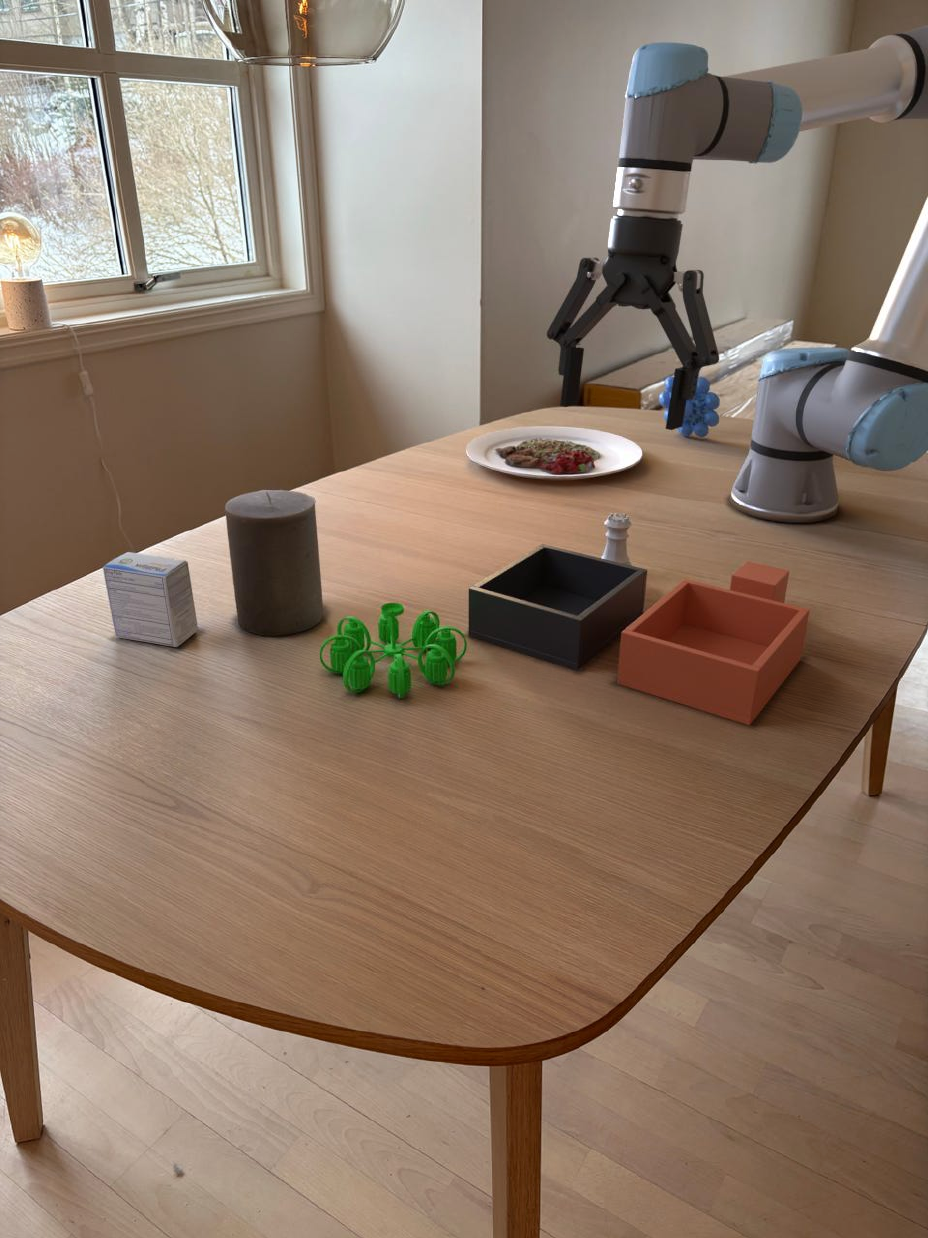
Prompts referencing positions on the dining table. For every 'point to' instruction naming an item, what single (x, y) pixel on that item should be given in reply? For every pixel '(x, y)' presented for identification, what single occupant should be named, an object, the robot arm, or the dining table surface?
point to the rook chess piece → (617, 538)
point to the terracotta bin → (713, 649)
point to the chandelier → (393, 650)
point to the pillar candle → (275, 561)
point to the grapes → (695, 408)
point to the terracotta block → (760, 581)
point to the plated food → (554, 452)
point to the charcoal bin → (557, 605)
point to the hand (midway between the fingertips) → (619, 416)
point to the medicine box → (151, 598)
